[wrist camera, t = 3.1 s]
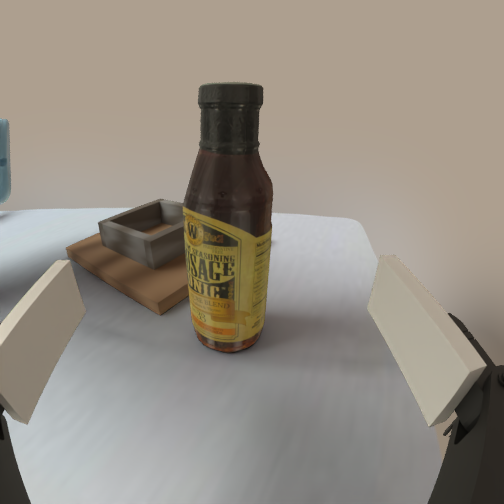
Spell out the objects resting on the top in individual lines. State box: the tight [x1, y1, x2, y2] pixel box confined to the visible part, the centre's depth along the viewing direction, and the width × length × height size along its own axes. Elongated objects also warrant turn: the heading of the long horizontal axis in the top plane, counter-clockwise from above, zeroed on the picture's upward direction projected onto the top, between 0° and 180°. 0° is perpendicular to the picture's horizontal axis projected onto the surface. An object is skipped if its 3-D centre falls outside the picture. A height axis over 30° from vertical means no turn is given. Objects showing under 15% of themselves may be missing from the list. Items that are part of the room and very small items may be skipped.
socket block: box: [66, 199, 189, 315], centre depth 39 cm, size 22×20×5 cm
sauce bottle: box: [183, 82, 273, 353], centre depth 21 cm, size 7×6×20 cm
